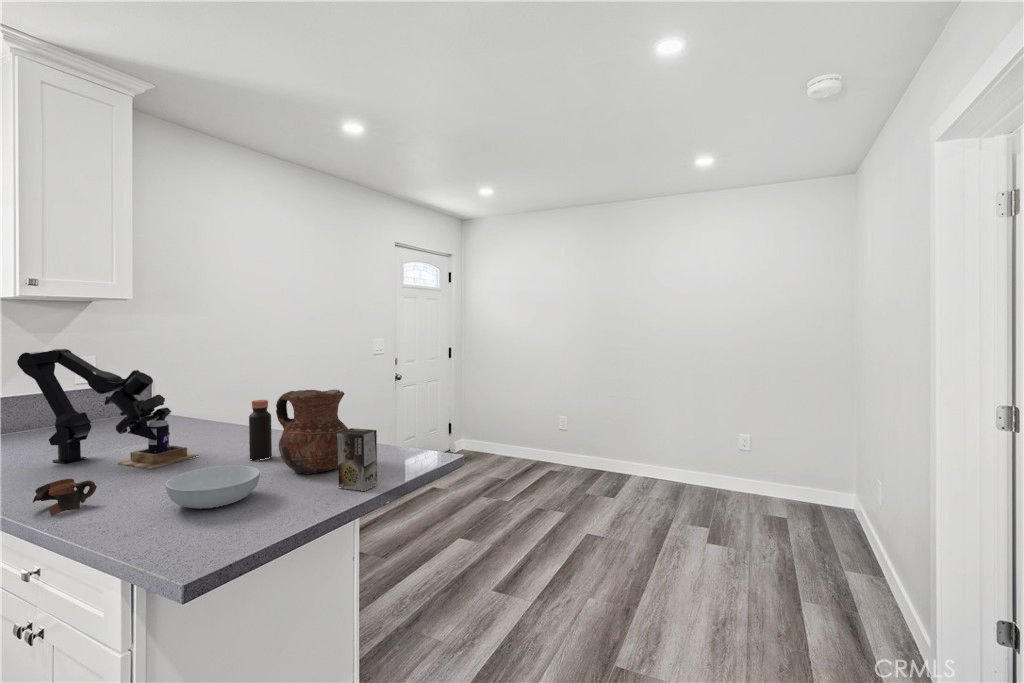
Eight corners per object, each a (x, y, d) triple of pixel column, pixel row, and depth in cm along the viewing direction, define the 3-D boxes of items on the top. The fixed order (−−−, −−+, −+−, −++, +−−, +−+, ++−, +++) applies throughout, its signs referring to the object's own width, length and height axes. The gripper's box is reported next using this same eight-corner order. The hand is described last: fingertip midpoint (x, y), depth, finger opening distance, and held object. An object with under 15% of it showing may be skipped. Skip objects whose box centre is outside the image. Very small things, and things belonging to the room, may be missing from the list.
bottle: (275, 457, 168) (275, 400, 167) (256, 462, 162) (255, 403, 162) (264, 455, 172) (263, 398, 171) (245, 459, 166) (244, 401, 165)
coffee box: (378, 485, 140) (377, 429, 139) (364, 492, 134) (364, 434, 133) (351, 481, 143) (351, 427, 142) (337, 488, 137) (336, 432, 136)
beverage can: (165, 458, 163) (165, 422, 162) (145, 459, 161) (145, 423, 160) (171, 454, 168) (171, 419, 168) (151, 455, 166) (151, 420, 166)
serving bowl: (191, 525, 112) (191, 495, 112) (150, 507, 123) (149, 480, 123) (276, 498, 130) (276, 472, 129) (233, 484, 141) (233, 460, 140)
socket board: (118, 464, 160) (117, 453, 160) (167, 452, 175) (167, 442, 175) (150, 469, 154) (150, 458, 154) (198, 456, 169) (198, 446, 169)
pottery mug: (33, 521, 115) (24, 489, 116) (46, 526, 122) (37, 495, 124) (97, 498, 122) (88, 468, 123) (106, 503, 129) (97, 475, 131)
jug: (343, 455, 171) (342, 385, 170) (360, 471, 153) (360, 392, 153) (274, 465, 159) (272, 389, 158) (284, 483, 141) (282, 398, 140)
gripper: (124, 392, 154) (159, 426, 155) (165, 384, 173) (197, 415, 173) (99, 416, 154) (135, 451, 155) (143, 406, 173) (175, 437, 174)
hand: (162, 437), depth 164 cm, fingers closed on beverage can, 5 cm apart
